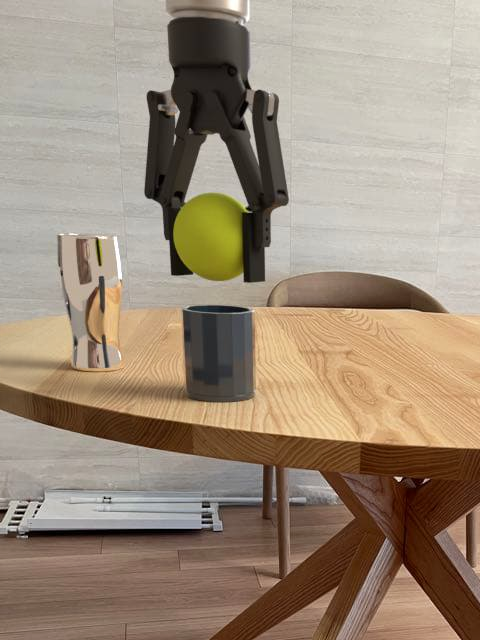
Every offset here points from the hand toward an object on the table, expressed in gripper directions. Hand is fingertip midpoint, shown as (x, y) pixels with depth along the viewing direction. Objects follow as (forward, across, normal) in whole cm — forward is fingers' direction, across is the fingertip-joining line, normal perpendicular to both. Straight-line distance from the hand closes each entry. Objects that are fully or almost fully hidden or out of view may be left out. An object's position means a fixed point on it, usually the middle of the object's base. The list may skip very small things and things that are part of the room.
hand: (217, 278), depth 85 cm
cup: (+12, 0, 0) cm, 12 cm away
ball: (0, 0, 0) cm, 0 cm away
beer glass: (+12, +21, -3) cm, 24 cm away
